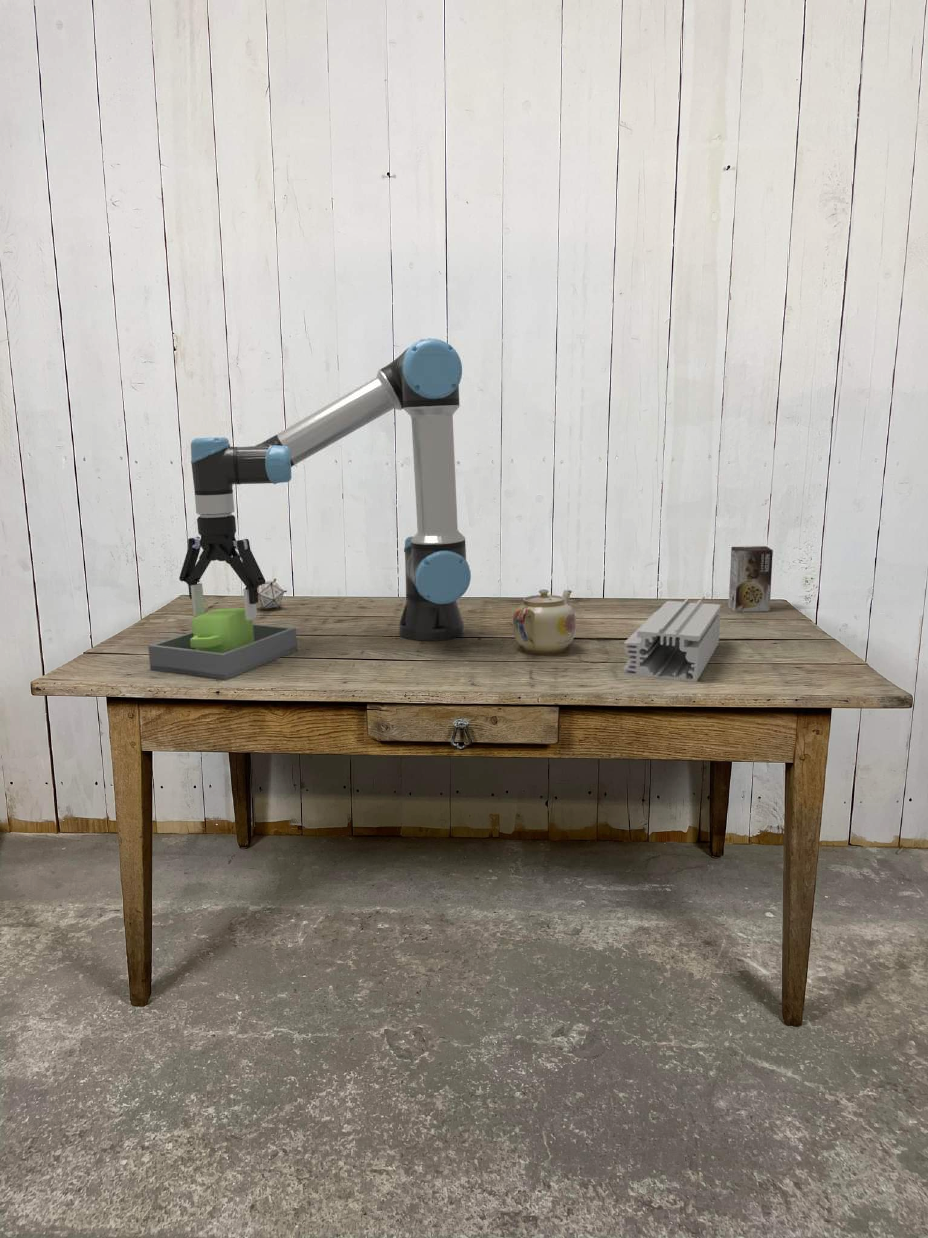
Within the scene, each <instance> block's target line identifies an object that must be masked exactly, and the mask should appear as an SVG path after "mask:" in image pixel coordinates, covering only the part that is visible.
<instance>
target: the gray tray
mask: <svg viewBox="0 0 928 1238" xmlns="http://www.w3.org/2000/svg"><path fill="white" fill-rule="evenodd" d="M253 631H254V642H252V643H249V644H247V645H244V646H241V647H239V648H236V649H233V650H231V651H228V652H225V653H216V652H208V651H200V650H195V648H191V645H190V639H191V638H193V637H194V635H193V630H192V631H190V632H187V633H184V634H181V635H177V636H174V637H171V638H168V639H165V640H162V641H159V642H156V643H153V644H149V645H147V649H148V658H149V669H150V670H151V671H159V672H164V673H172V674H173V673H175V674H181V675H188V676H195V677H200V678H201V677H202V678H210V679H217V680H225V681H226V680H230V679H232V678H234V677H236V676H239V675H241V674H243V673H247V672H248V671H250V670H253V669H256V668H258V667H260V666H262V665H265V664H267V663H270V662H272V661H275V660H277V659H279V658H282V657H285V656H287V655H289V654H291V652H292V653H295V652H296V650H297V651H298V645H297V644H298V642H297V641H298V640H297V629H296V627H290V626H281V625H279V626H277V625H270V624H259V623H253ZM288 653H289V654H288Z"/></svg>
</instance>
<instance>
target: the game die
mask: <svg viewBox="0 0 928 1238" xmlns="http://www.w3.org/2000/svg"><path fill="white" fill-rule="evenodd" d="M276 578H277V577H276ZM276 578H274V579H273V580H269V581H266V582H265V584H263V585H260V586H258V588H257V590H258V603H257V604H258V605H259V606H260V607H261V612H263V611H264V610H265V609H273V608H278V609H279V610H282V607H281V606H280V605H281V603H282V600H283V596H284V594H285V593H287V592H288V590H286V589H282V587H281V586H280V585H279V584H278V583H277V579H276Z"/></svg>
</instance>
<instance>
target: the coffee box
mask: <svg viewBox="0 0 928 1238" xmlns="http://www.w3.org/2000/svg"><path fill="white" fill-rule="evenodd" d="M730 551H731V552H730V571H729V572H730V573H729V591H728V592H729V593H728V594H729V595H728V608H729V609H731V610H732V611H733V612H735V613H741V612H742V613H743V612H744V613H746V612H748V613H749V612H750V613H751V612H754V613H755V612H770V611H771V607H770V606H771V592H772V589H771V588H772V576H773V575H772V573H773V572H772V569H773V556H774V555H773V553H774V550H773V549H772V548H771V547H769V546H766V545H765V546H763V545H762V546H760V545H759V546H758V545H757V546H731V550H730Z"/></svg>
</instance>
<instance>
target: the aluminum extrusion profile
mask: <svg viewBox="0 0 928 1238" xmlns="http://www.w3.org/2000/svg"><path fill="white" fill-rule="evenodd" d="M688 601H689V598H686V599H685V600H684V601H675V600H674V601H672V600H667V601H666V602H665V603H664V604H662V606H660V608H659V609H657V610H656V611H654V612H653V613H652V614H651V615H650V616H649V617H648V618H647V619H646V620H645V621H644V622H643V623H642V624H641V625H640V626H639V627H638V628H637V629H636V630H635V631H634V632H633V633H632V634H631V635H630V636H629V637H628V638H627V639H626V640H625V641H624V643H623V645H625V646H624V647H623V650H625V651H627V652H626V653H625V654H626V656H629V657H628V659H627V662H626V663H625V666H623V668H622V670H623V671H624V672H623V673H622V674H623V675H628V676H638V677H648V678H655V679H656V678H658V679H668V680H675V681H676V680H677V681H684V682H685V681H687V682H688V681H689V682H697V681H698V680H699V678H700V677H701V675H702V673H703V671H704V669H705V668H706V666H707V664H708V663H709V660H710V659H711V658H712V656H713V654H714V652H715V650H716V648H717V647H718V645H719V643H720V631H721V630H720V629H721V615H720V614H718V613H719V612H720V610H721V609H722V605H721V604H718V603H717V604H716V603H704V602H703V600H702V599H699V600H698V601H697V602H688Z"/></svg>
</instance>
